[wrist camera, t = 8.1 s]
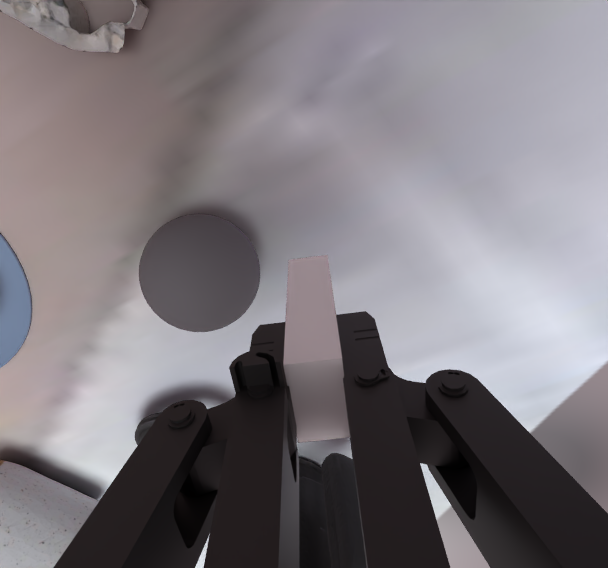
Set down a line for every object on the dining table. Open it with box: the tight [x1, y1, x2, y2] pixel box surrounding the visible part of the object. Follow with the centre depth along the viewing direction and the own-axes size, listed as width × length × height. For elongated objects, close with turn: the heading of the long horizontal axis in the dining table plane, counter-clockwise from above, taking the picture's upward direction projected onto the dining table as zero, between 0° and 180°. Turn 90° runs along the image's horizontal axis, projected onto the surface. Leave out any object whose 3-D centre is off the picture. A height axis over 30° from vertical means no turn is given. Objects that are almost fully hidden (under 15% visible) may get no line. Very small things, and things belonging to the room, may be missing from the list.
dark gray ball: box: [139, 214, 260, 332], centre depth 23 cm, size 6×6×6 cm
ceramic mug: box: [0, 460, 99, 568], centre depth 31 cm, size 11×8×8 cm
